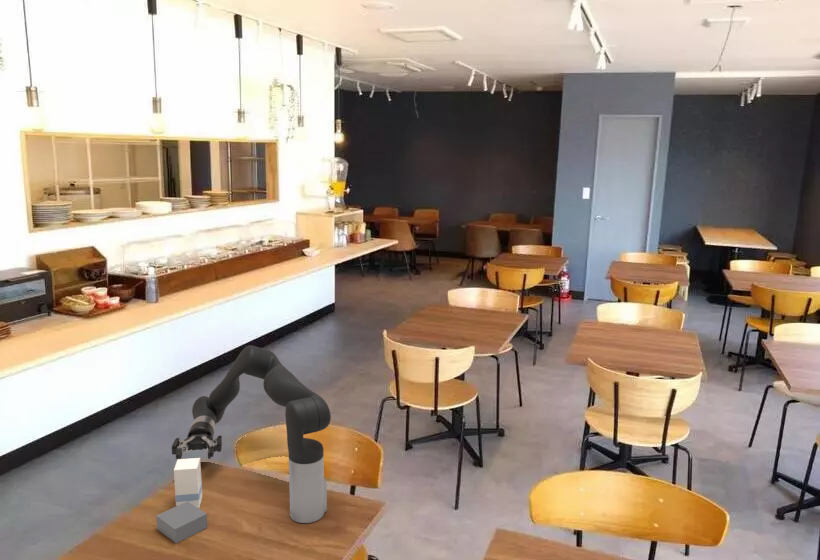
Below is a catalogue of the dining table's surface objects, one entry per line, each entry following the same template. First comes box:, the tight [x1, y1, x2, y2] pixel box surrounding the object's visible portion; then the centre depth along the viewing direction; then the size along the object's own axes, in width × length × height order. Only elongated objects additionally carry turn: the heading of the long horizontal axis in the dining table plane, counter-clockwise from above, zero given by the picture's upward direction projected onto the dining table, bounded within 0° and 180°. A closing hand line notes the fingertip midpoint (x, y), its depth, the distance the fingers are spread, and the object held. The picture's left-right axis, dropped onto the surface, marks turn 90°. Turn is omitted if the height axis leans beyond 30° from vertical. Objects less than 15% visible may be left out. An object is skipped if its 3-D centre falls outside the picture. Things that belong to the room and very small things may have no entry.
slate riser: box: [155, 501, 208, 544], centre depth 165 cm, size 9×9×4 cm
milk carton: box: [173, 457, 203, 509], centre depth 175 cm, size 6×6×12 cm
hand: (194, 456), depth 186 cm, fingers open, 8 cm apart
